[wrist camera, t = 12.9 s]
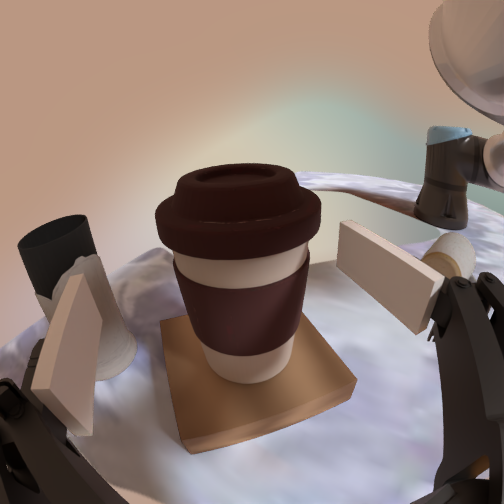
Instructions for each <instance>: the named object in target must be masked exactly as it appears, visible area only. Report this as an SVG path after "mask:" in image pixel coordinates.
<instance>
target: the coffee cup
mask: <svg viewBox="0 0 504 504" xmlns="http://www.w3.org/2000/svg"><path fill="white" fill-rule="evenodd" d="M155 219H156V225H157V230H158V235H159V238H160V240H161V241H162V243H163V244H164V245H165V246H166V247H168V248H169V249H171V250H172V251H173V254H174V259H173V267H174V271H175V274H176V278H177V281H178V284H179V288H180V291H181V294H182V297H183V300H184V304H185V307H186V310H187V313H188V316H189V319H190V322H191V325H192V328H193V330H194V332H195V334H196V336H197V337H198V339H199V340H200V342H201V345H202V348H203V351H204V354H205V356H206V359H207V362H208V364H209V365H210V367H211V368H212V369H213V371H214V372H216V373H217V374H218V375H219V376H221V377H222V378H224V379H226V380H229V381H232V382H236V383H242V384H252V383H258V382H262V381H265V380H268V379H270V378H272V377H274V376H275V375H277V374H278V373H280V372H281V371H282V370H283V368H284V367H285V366H286V365H287V363H288V361H289V359H290V356H291V352H292V346H293V341H294V335H295V332H296V330H297V328H298V326H299V322H300V318H301V312H302V306H303V300H304V294H305V288H306V282H307V275H308V269H309V261H310V252H309V249H308V241H309V240H310V239H312V238H313V236H315V234H316V233H317V232H318V230H319V227H320V223H321V201H320V199H319V197H318V196H317V195H316V194H315V193H313V192H312V191H310V190H308V189H306V188H304V187H301V186H299V183H298V181H297V179H296V176H295V174H294V173H293V171H291V170H290V169H288V168H285V167H282V166H278V165H271V164H258V163H241V164H226V165H219V166H212V167H208V168H203V169H199V170H196V171H193V172H190V173H188V174H186V175H184V176H182V177H181V178H180V179H179V180H178V182H177V186H176V189H175V193H174V195H173V196H171V197H169V198H167V199H165V200H164V201H163V202H161V204H160V205H159V206H158V207H157V209H156V212H155Z"/></svg>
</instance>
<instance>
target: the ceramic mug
mask: <svg viewBox="0 0 504 504" xmlns="http://www.w3.org/2000/svg"><path fill="white" fill-rule="evenodd" d="M421 261H422V262H424V263H426V264H427V265H428V266H430V267H432V268H433V269H435V270H436V271H438V272H439V273H441V274H443V275H444V276H446V277H447V278H449V279H451V277H454V276H460V277H464V278H466V279H468V280H469V281H471V282H472V283H475V282H477V280H476V279H475V277H474V276H473V275H472V273H473V271H474V268H475V264H476V257H475V251H474V249H473V246H472V244H471V243H470V242H469V240H468V239H467V238H465V237H464V236H463V235H461V234H459V233H454V232H449V233H445V234H443V235H442V236H440V237H439V238H438V239H437V241H436V242H435V243H434V244H433V245H432V247H431V248H430V249H429V250H428V251H427V252H426V253H425V255H424V256H423V257H422V259H421Z"/></svg>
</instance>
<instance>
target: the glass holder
mask: <svg viewBox="0 0 504 504" xmlns="http://www.w3.org/2000/svg"><path fill="white" fill-rule="evenodd" d="M18 249H19V252H20V255H21V257H22V260H23V263H24V265H25V268H26V270H27V273H28V275H29V278H30V280H31V282H32V284H33V287H34V289H35V295H36V297H37V299H38V301H39V304H40V306H41V307H42V309H43V312H44V313H45V315H46V317H47V319H48V321H49V323H50V324H51V321H52V318H53V316H54V313H55V310H56V308H57V305H58V303H59V301H60V298H61V296H62V293H63V291H64V289H65V286H66V284H67V282H68V280H69V278H70V276H74V275H79V274H83V273H84V276H85V278H86V281H87V284H88V286H89V289H90V291H91V294H92V296H93V299H94V301H95V304H96V306H97V308H98V311H99V313H100V315H101V318H102V320H103V321H102V327H101V334H100V341H99V348H98V357H97V366H96V376H95V381H103V380H107V379H110V378H113V377H115V376H117V375H118V374H120V373H121V372H123V371H124V370H125V369H126V368H127V367H128V366H129V365H130V364H131V362H132V361H133V359H134V357H135V355H136V352H137V341H136V339H135V337H134V336H133V334H132V333H131V332H130V331H128V330H127V328H126V325H125V323H124V321H123V318H122V316H121V313H120V311H119V308H118V306H117V303H116V301H115V298H114V296H113V293H112V290H111V288H110V285H109V282H108V279H107V276H106V273H105V271H104V268H103V265H102V262H101V259H100V257H99V256H98V255H97V252H96V248H95V245H94V242H93V238H92V234H91V231H90V227H89V224H88V220H87V217H86V216H85V215H71V216H66V217H62V218H59V219H56V220H53V221H51V222H48V223H46V224H44V225H42V226H40V227H38V228H36V229H35V230H33V231H31V232H30V233H28V234H27V235H26V236H24V237H23V238H22V239H21V240H20V241H19V243H18Z"/></svg>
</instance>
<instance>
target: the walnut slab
mask: <svg viewBox="0 0 504 504" xmlns="http://www.w3.org/2000/svg"><path fill="white" fill-rule="evenodd" d="M160 327H161V335H162V342H163V350H164V356H165V363H166V369H167V375H168V381H169V386H170V392H171V397H172V402H173V407H174V412H175V417H176V421H177V426H178V430H179V434H180V438H181V441H182V443H183V444H184V445H185V447H186V448H187V449H188V451H189V452H190V453H191V455H192V454H197V453H201V452H206V451H210V450H214V449H218V448H222V447H226V446H230V445H233V444H237V443H241V442H244V441H247V440H250V439H254V438H257V437H260V436H263V435H266V434H269V433H272V432H274V431H277V430H280V429H283V428H285V427H288V426H291V425H293V424H296V423H298V422H301V421H303V420H306V419H308V418H310V417H313V416H315V415H317V414H319V413H322V412H324V411H326V410H328V409H330V408H332V407H335V406H337V405H339V404H341V403H343V402H345V401H347V400H349V399H350V398H351V395H352V393H353V390H354V388H355V385H356V382H357V380H358V379H357V378H356V377H355V376H354V375H353V373H352V372H351V371H350V370H349V368H348V367H347V366H346V365H345V364H344V362H343V361H342V360H341V359H340V357H339V356H338V355H337V354H336V353H335V351H334V350H333V349H332V348H331V346H330V345H329V344H328V343H327V342H326V340H325V339H324V338H323V337H322V335H321V334H320V333H319V332H318V331H317V329H316V328H315V327H314V326H313V324H312V323H311V322H310V321H309V320H308V318H307V317H306V316H305V315H304V313H303V312H301V318H300V322H299V326H298V328H297V330H296V332H295V335H294V341H293V346H292V352H291V356H290V359H289V361H288V363H287V365H286V366H285V367H284V368H283V370H282V371H281V372H280V373H278V374H277V375H275V376H274V377H272V378H270V379H268V380H265V381H262V382H258V383H252V384H242V383H236V382H232V381H229V380H226V379H224V378H222V377H221V376H219V375H218V374H217V373H216V372H214V371H213V369H212V368H211V367H210V365H209V364H208V362H207V359H206V356H205V354H204V351H203V348H202V345H201V342H200V340H199V339H198V337H197V336H196V334H195V332H194V330H193V328H192V325H191V322H190V319H189V316H188V315H184V316H179V317H175V318H170V319H166V320H161V321H160Z"/></svg>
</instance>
